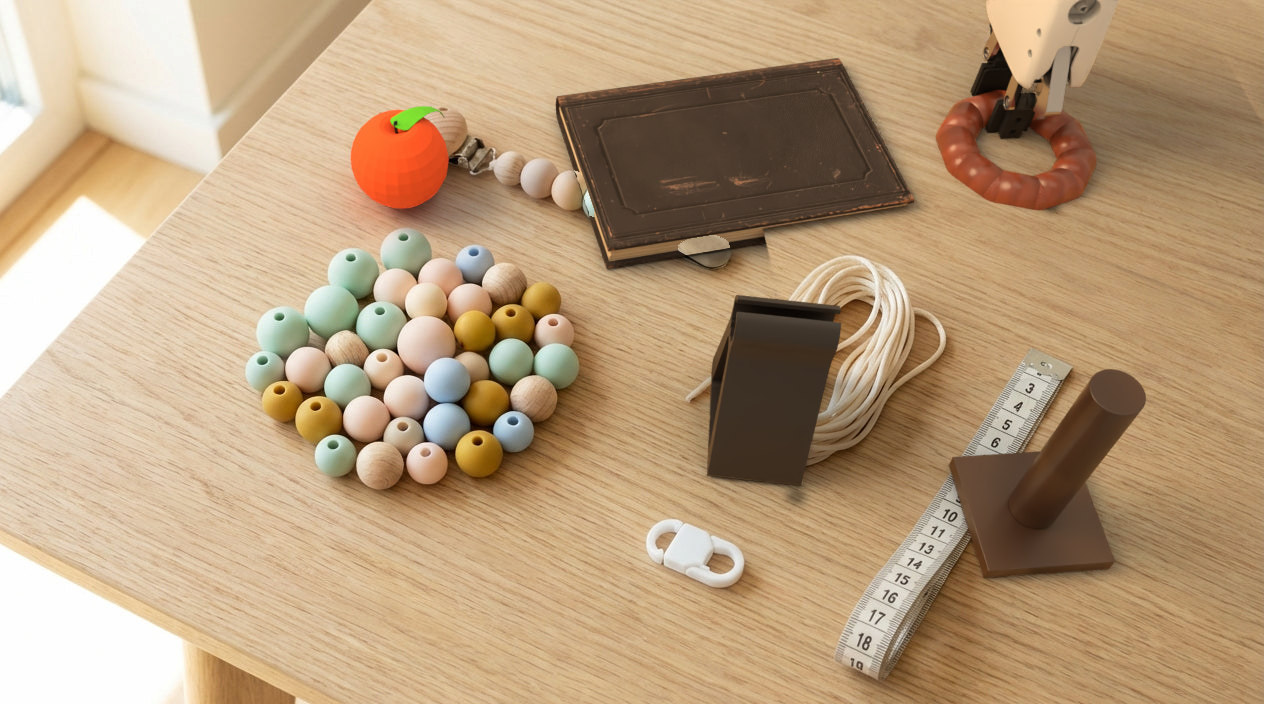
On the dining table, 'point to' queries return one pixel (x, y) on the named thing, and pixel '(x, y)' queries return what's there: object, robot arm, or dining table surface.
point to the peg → (1048, 488)
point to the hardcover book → (725, 157)
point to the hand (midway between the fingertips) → (994, 119)
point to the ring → (1009, 186)
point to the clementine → (400, 157)
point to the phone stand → (769, 388)
